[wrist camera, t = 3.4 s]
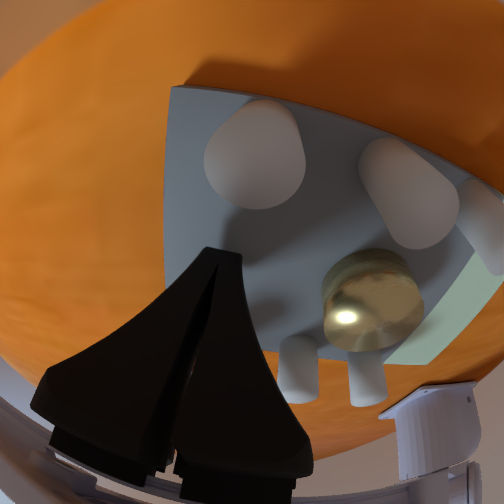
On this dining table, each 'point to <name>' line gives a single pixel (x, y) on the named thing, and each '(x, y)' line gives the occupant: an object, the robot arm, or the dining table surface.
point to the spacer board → (324, 224)
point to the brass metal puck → (370, 301)
